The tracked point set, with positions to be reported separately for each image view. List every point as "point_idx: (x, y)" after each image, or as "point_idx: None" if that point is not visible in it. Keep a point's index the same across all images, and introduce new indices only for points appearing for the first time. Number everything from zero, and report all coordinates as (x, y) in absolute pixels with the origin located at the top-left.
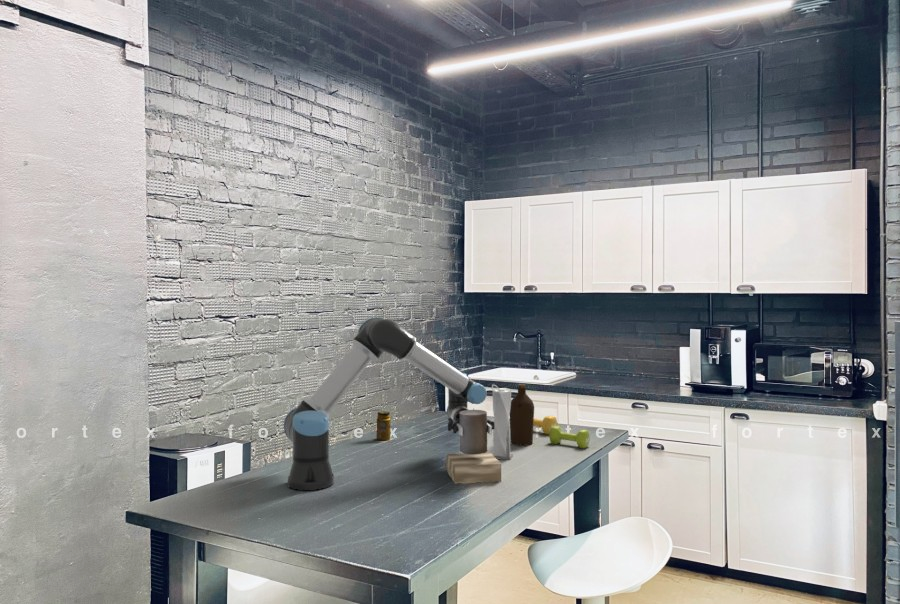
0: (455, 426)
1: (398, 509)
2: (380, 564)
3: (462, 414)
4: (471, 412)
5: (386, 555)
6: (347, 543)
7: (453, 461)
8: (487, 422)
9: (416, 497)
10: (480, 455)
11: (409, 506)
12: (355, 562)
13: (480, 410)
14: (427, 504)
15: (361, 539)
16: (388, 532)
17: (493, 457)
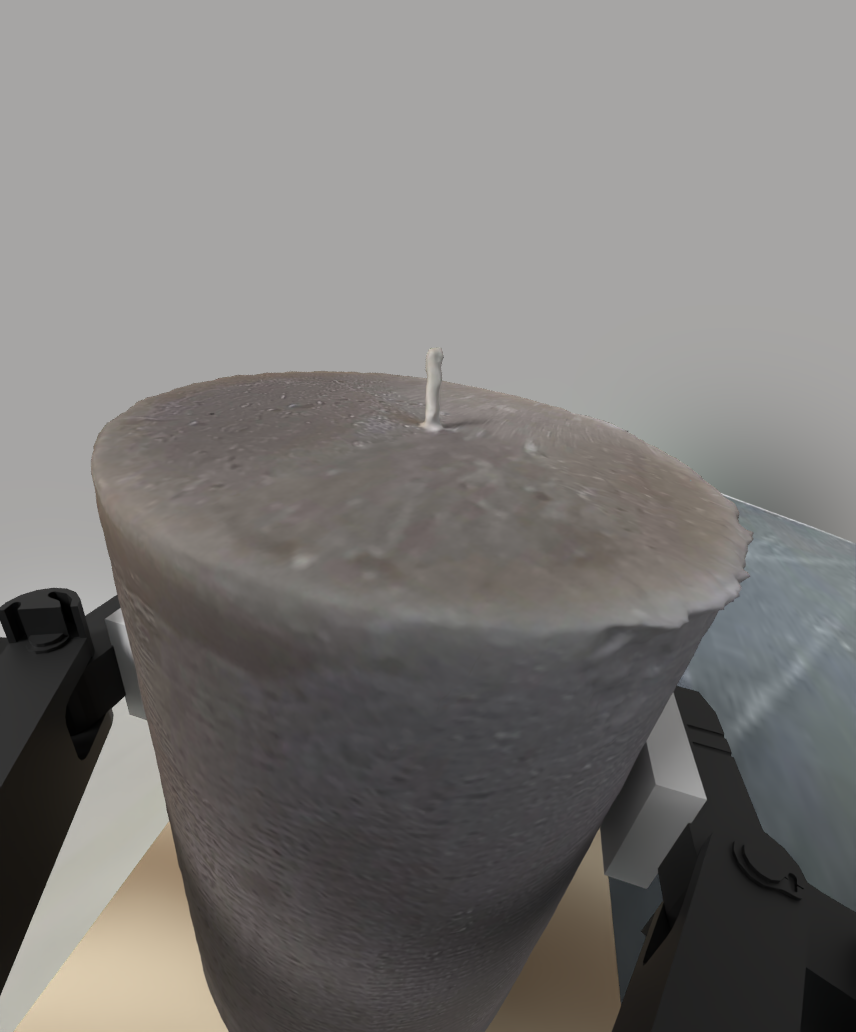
0: (712, 759)
1: (804, 656)
2: (744, 506)
3: (661, 455)
4: (487, 421)
5: (743, 517)
6: (848, 562)
7: (594, 896)
8: (85, 626)
9: (769, 729)
10: (200, 1022)
11: (770, 661)
12: (790, 520)
13: (173, 426)
14: (703, 651)
15: (825, 564)
16: (773, 565)
17: (171, 841)
